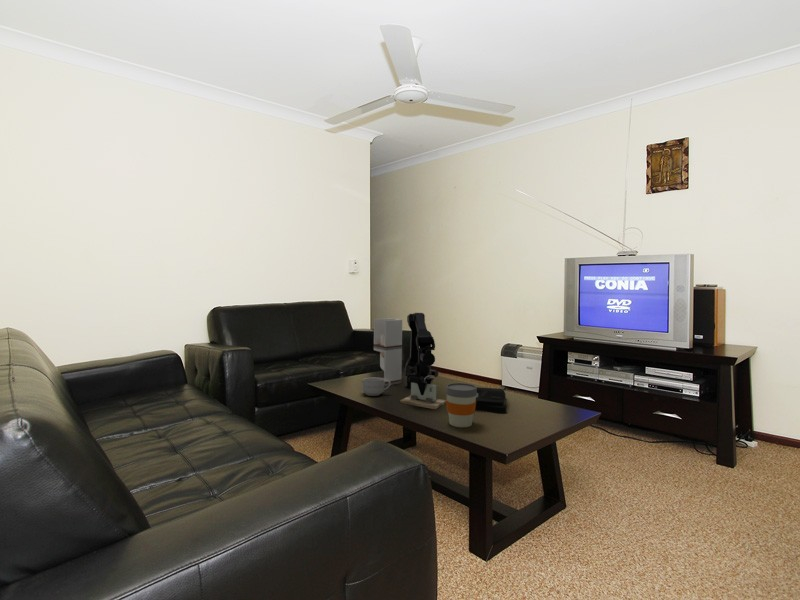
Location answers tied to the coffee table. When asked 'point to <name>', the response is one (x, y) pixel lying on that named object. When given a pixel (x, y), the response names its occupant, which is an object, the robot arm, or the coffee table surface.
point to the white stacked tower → (389, 348)
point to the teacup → (374, 386)
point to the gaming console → (490, 400)
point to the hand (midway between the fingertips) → (423, 394)
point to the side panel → (423, 402)
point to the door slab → (429, 392)
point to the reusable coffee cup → (461, 403)
